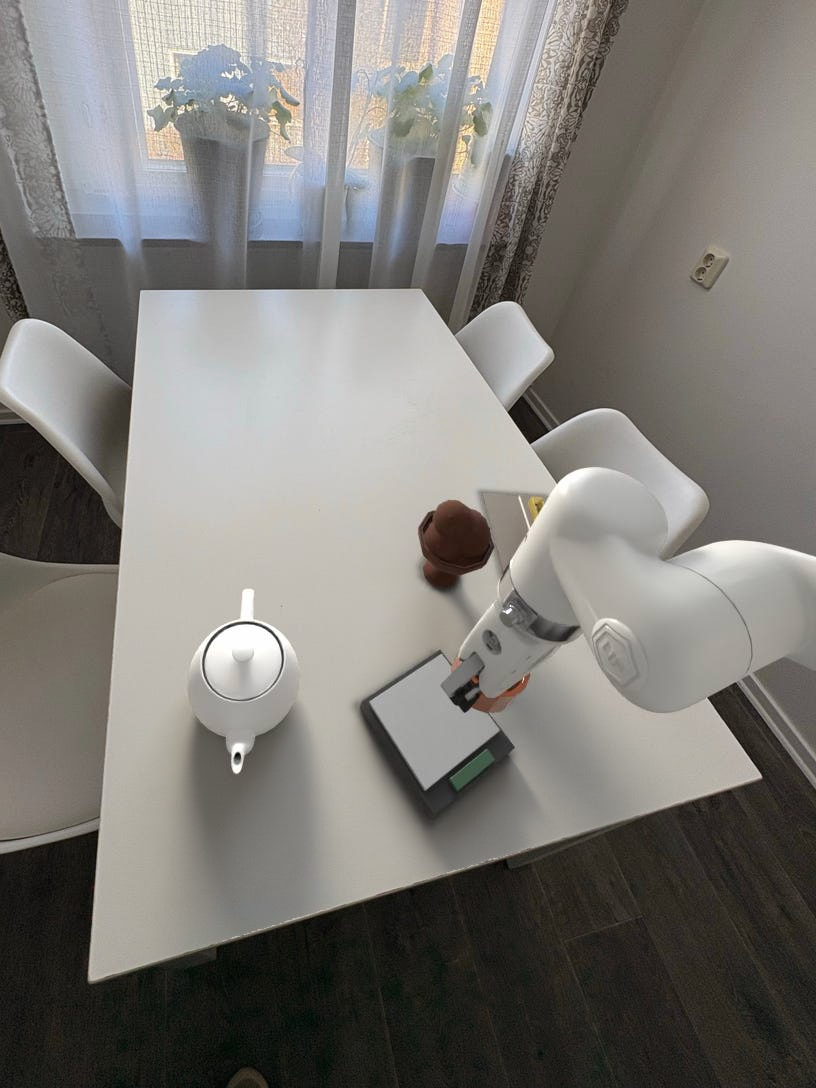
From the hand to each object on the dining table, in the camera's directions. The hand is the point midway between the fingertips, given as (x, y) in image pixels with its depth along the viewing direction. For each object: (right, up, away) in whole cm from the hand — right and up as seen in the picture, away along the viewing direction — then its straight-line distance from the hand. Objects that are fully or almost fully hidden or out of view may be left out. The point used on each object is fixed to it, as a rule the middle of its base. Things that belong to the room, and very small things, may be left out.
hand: (483, 678), depth 56 cm
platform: (+17, +9, +34) cm, 39 cm away
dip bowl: (0, -1, +1) cm, 1 cm away
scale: (-3, -11, +10) cm, 16 cm away
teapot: (-27, -7, +11) cm, 30 cm away
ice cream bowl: (+1, +5, +27) cm, 28 cm away
